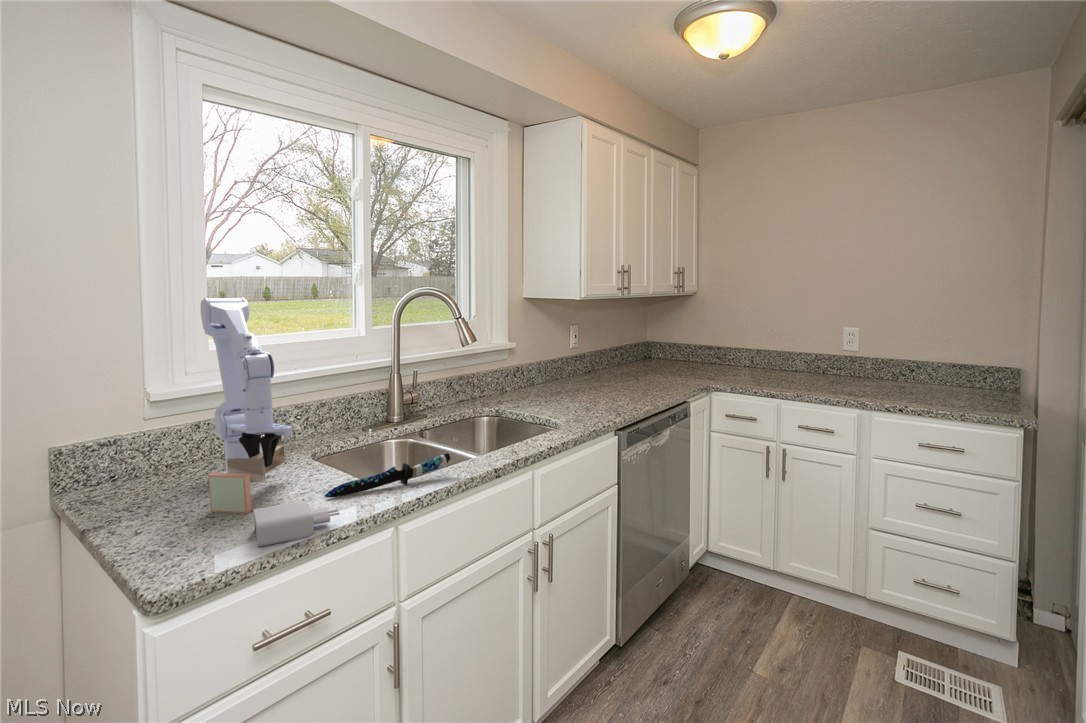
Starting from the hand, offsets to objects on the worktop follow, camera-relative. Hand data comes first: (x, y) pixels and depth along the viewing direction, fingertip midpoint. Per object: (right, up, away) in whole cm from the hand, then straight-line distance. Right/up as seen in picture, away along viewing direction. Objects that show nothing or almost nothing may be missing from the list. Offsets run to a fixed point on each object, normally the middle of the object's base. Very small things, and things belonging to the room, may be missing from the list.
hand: (262, 465), depth 133 cm
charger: (+17, -9, -20) cm, 28 cm away
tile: (-1, -8, -11) cm, 13 cm away
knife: (+28, -6, +4) cm, 29 cm away
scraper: (0, -2, 0) cm, 2 cm away
